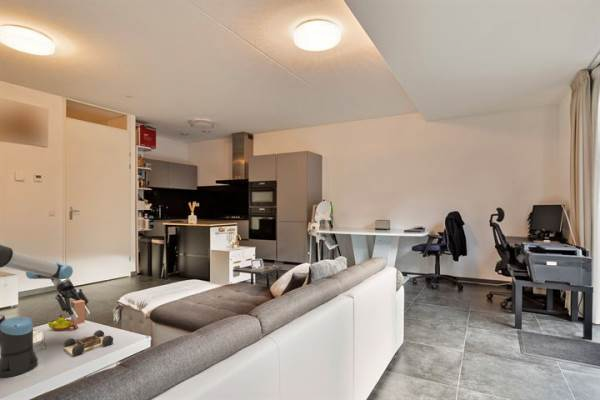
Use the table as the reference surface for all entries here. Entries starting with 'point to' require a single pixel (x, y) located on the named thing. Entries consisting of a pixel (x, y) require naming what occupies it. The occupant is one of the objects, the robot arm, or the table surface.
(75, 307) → the pink rectangular block
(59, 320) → the toy boat
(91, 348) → the chassis
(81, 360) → the table surface
